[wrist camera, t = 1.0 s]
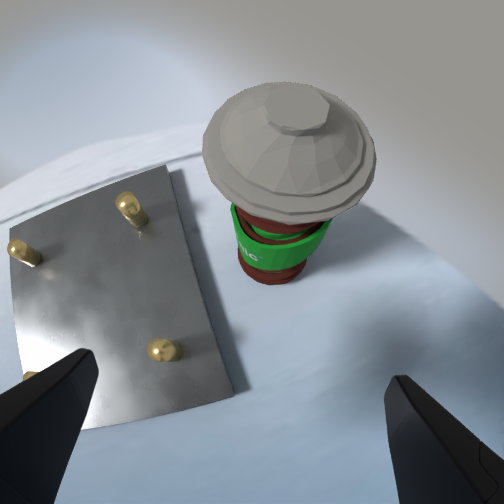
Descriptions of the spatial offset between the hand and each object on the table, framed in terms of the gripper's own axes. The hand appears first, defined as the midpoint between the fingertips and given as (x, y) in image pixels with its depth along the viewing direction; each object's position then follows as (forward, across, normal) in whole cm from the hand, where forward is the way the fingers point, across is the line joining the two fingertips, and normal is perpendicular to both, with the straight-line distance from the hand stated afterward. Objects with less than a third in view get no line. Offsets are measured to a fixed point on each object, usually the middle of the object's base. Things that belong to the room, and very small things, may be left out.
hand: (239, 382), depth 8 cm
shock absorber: (+15, -1, +3) cm, 16 cm away
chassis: (+12, +12, +6) cm, 18 cm away
